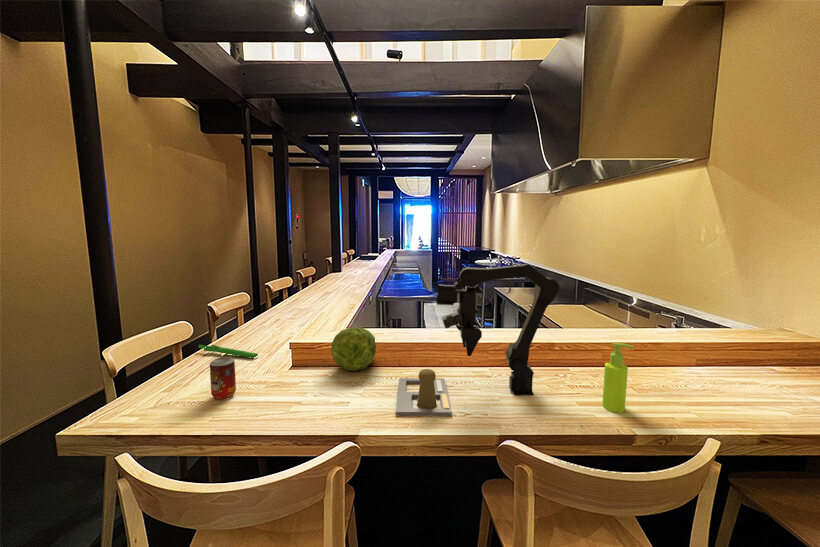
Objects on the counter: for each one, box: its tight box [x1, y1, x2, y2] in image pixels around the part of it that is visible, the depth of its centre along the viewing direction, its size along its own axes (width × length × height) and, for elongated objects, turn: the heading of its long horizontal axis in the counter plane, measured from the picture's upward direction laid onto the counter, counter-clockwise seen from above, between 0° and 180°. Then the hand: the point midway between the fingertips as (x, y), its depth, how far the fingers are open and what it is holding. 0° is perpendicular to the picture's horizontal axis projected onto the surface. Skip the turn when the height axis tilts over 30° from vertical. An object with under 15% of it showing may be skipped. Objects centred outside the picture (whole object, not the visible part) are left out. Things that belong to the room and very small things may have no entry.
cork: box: [416, 368, 438, 409], centre depth 106 cm, size 6×6×11 cm
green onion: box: [198, 344, 259, 359], centre depth 151 cm, size 5×3×30 cm
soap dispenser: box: [601, 342, 635, 413], centre depth 104 cm, size 6×7×20 cm
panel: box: [395, 377, 452, 417], centre depth 112 cm, size 16×24×2 cm, turn 179°
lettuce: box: [330, 326, 377, 372], centre depth 140 cm, size 17×23×16 cm
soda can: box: [209, 356, 237, 401], centre depth 112 cm, size 7×7×12 cm
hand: (466, 351), depth 117 cm, fingers open, 9 cm apart
